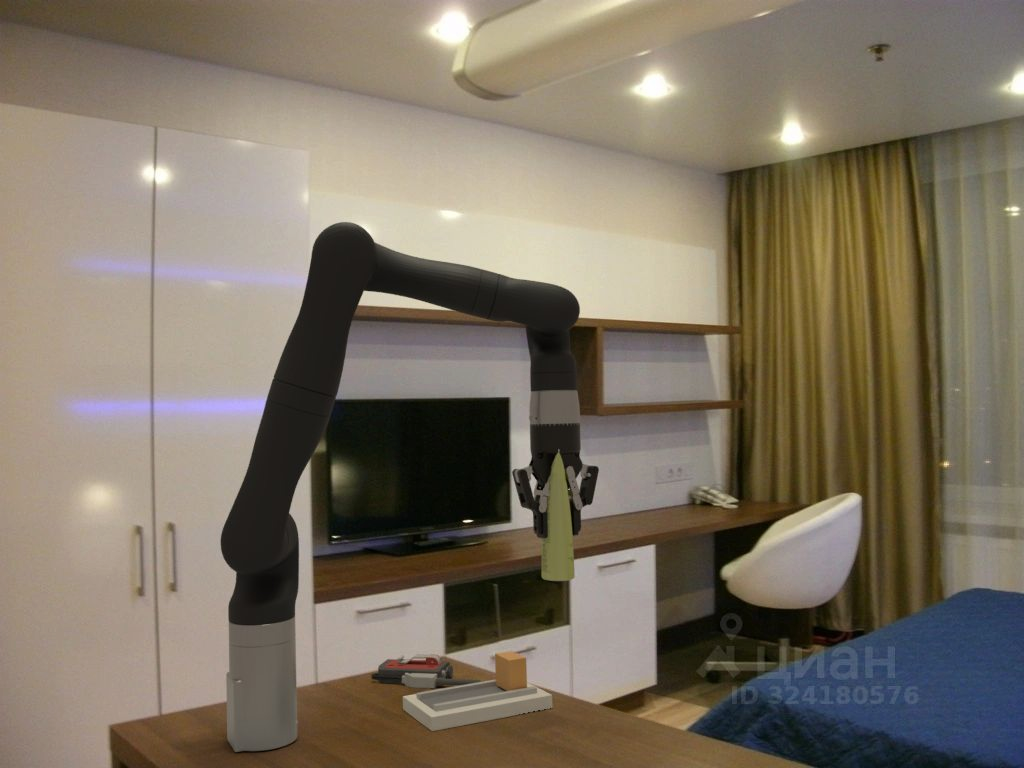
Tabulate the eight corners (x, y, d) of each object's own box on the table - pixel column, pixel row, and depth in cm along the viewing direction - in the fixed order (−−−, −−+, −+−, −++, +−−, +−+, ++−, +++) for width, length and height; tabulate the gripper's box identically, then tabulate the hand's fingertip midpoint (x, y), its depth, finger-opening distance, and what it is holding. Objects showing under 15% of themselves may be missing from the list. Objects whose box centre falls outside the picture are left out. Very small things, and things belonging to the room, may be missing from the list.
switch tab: (510, 692, 143) (509, 660, 143) (495, 684, 147) (495, 653, 147) (527, 689, 144) (526, 657, 144) (512, 681, 148) (511, 651, 149)
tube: (585, 578, 136) (581, 446, 137) (562, 583, 133) (558, 448, 133) (556, 575, 140) (553, 446, 141) (533, 579, 137) (530, 448, 137)
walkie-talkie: (366, 688, 157) (479, 693, 152) (365, 662, 157) (479, 666, 153) (384, 674, 165) (492, 678, 161) (383, 649, 165) (491, 652, 161)
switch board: (432, 731, 133) (431, 711, 133) (402, 709, 143) (402, 691, 144) (552, 708, 142) (551, 689, 142) (516, 689, 153) (516, 671, 153)
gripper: (523, 422, 131) (526, 542, 130) (608, 420, 137) (612, 535, 137) (500, 422, 138) (503, 537, 137) (583, 420, 144) (586, 530, 143)
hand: (557, 535), depth 137 cm, fingers closed on tube, 4 cm apart
